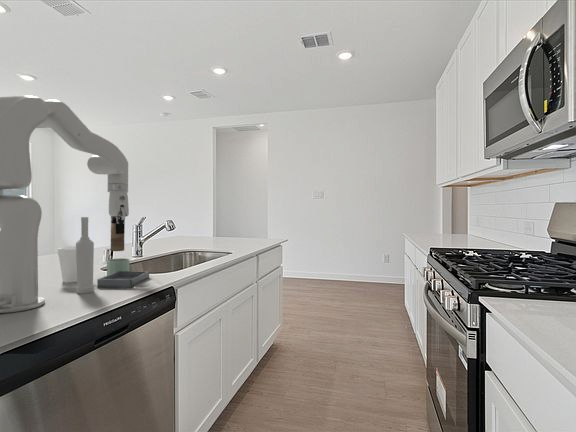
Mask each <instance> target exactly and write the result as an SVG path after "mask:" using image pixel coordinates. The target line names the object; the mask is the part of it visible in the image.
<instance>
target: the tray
mask: <svg viewBox="0 0 576 432" xmlns="http://www.w3.org/2000/svg"><path fill="white" fill-rule="evenodd" d="M96 279H97V278H96ZM148 279H150V271H148V270H147V271H145V270H137V271H134V270H133V271H132V270H130V271H118V272H115V273H113V274H110V275H107V274H106V275H105V276H103V277H100V278H98V279H97V281H96V284H97V289H133V288H134V287H135V286H136V285H138V284H140V283H142V282H145V281H146V280H148Z"/></svg>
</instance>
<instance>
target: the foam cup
mask: <svg viewBox="0 0 576 432" xmlns="http://www.w3.org/2000/svg"><path fill="white" fill-rule="evenodd" d="M57 255H58V260H59V267H60V272H61V277H62V282H63V283H77V268H76V245H71V246H61V247H57Z"/></svg>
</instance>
